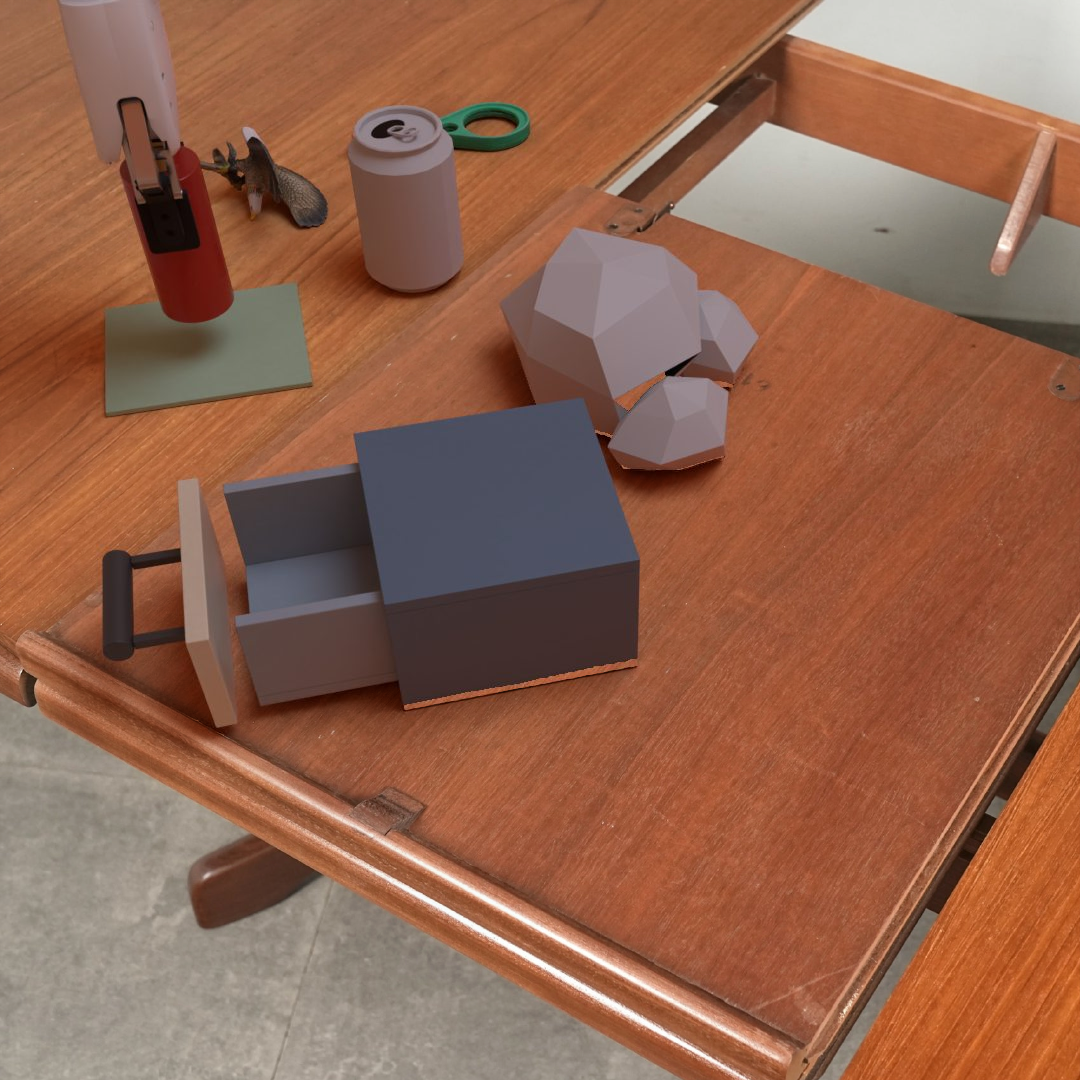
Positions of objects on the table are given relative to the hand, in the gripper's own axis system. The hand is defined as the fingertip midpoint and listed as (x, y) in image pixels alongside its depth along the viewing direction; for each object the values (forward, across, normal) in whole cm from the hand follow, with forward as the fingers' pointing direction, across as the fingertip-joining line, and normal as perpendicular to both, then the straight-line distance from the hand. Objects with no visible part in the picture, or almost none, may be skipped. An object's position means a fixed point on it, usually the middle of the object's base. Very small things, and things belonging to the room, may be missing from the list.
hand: (174, 221), depth 91 cm
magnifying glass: (+11, -24, +21) cm, 33 cm away
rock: (+11, +12, +28) cm, 32 cm away
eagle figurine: (+11, -17, +6) cm, 21 cm away
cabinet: (+10, +29, +16) cm, 35 cm away
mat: (+10, 0, 0) cm, 10 cm away
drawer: (+9, +29, +3) cm, 31 cm away
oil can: (+6, 0, 0) cm, 6 cm away
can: (+11, -6, +16) cm, 20 cm away
